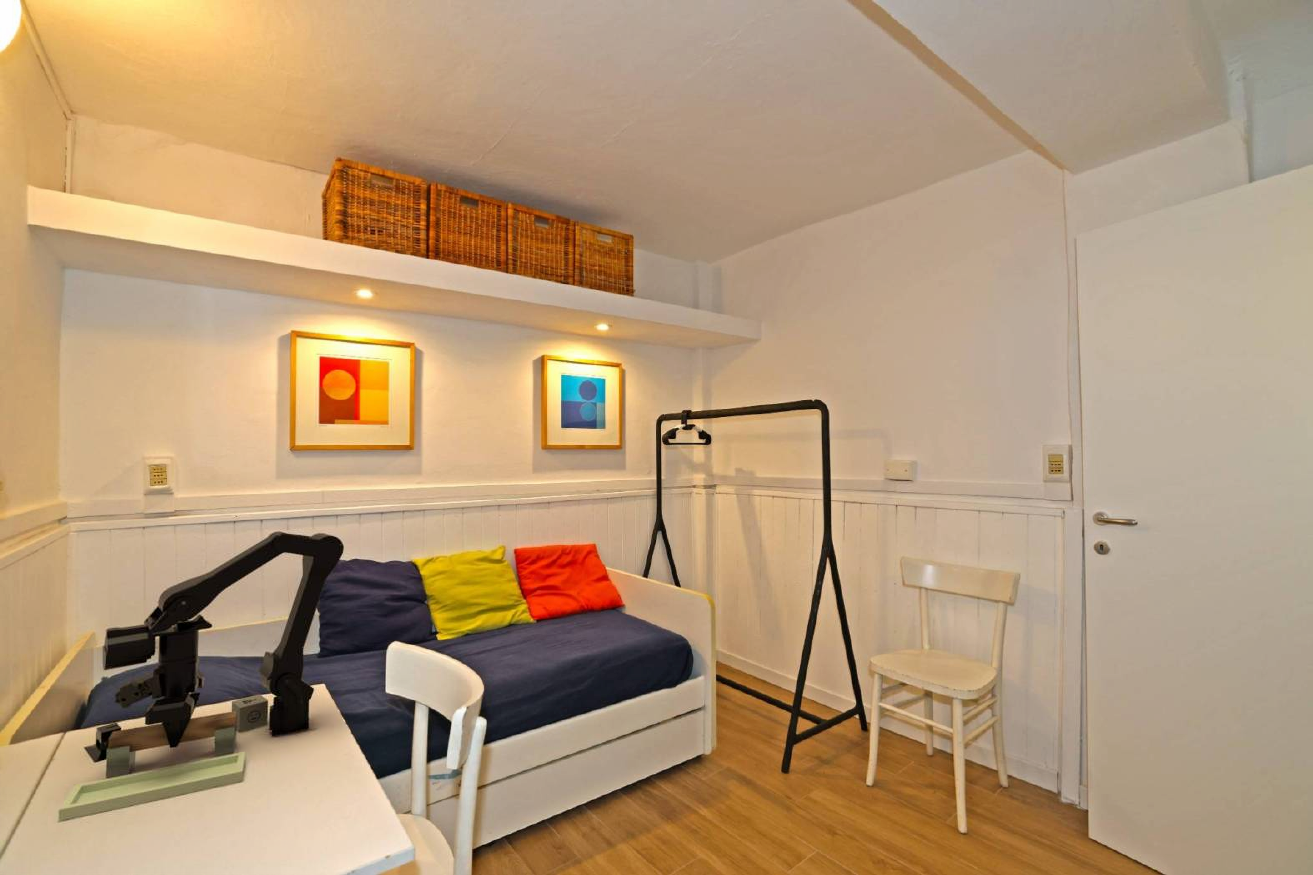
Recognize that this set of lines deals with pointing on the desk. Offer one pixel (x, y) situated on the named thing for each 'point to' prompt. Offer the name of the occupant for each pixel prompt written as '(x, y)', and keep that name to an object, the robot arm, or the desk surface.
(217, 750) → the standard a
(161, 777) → the tray
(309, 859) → the desk surface
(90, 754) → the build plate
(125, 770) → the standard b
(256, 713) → the dice cube
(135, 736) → the rail
